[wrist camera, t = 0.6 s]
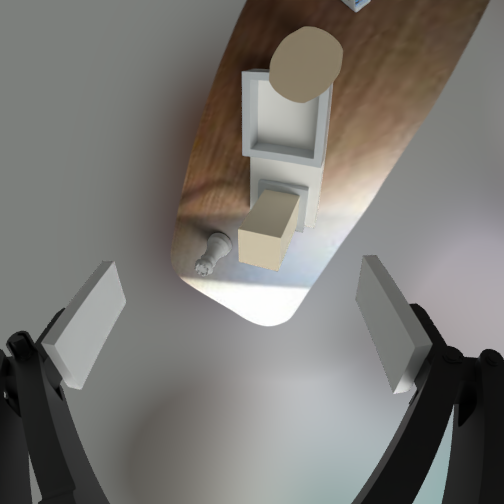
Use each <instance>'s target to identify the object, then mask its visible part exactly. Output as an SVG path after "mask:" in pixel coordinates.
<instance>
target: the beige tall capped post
mask: <svg viewBox="0 0 504 504" xmlns="http://www.w3.org/2000/svg"><path fill="white" fill-rule="evenodd" d="M342 57H343V49H342V47H341V45H340V43H339V42H338V41H337V40H336V39H335V38H334V37H333V36H332V35H330V34H329V33H327V32H325V31H323V30H321V29H319V28H316V27H302V28H300V29H299V30H297V31H295V32H293V33H292V34H290V35H288V36H287V37H286V38H285V39H284V40H283V41H282V42H281V43H280V45H279V46H278V48H277V50H276V51H275V53H274V54H273V57H272V59H271V63H270V71H269V82H270V84H271V86H272V87H273V89H274V90H275V91H276V92H277V93H278V94H280V95H281V96H283V97H284V98H286V99H288V100H290V101H293V102H297V103H306V102H308V101H310V100H312V99H314V98H315V97H317V96H319V95H321V94H322V93H324V92H325V91H326V90H327V89H328V88H329V87H330V85H331V84H332V83H333V81H334V80H335V78H336V77H337V76H338V74H339V72H340V69H341V64H342Z"/></svg>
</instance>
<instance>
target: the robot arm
mask: <svg viewBox="0 0 504 504" xmlns="http://www.w3.org/2000/svg"><path fill="white" fill-rule="evenodd" d="M356 302H357V304H358V306H359V308H360V311H361V313H362V315H363V318H364V320H365V323H366V325H367V327H368V330H369V332H370V335H371V337H372V340H373V342H374V344H375V346H376V349H377V352H378V355H379V357H380V360H381V362H382V365H383V367H384V370H385V373H386V375H387V378H388V381H389V383H390V386H391V389H392V392H393V394H395V393H401V392H405V391H409V390H410V388H411V387H412V385H413V383H414V382H415V385H416V387H417V390H416V392H415V394H414V395H413V397H412V399H411V401H410V402H409V404H410V405H409V407H408V409H407V411H406V413H405V415H404V417H403V419H402V421H401V423H400V425H399V428H398V429H397V431H396V433H395V435H394V437H393V439H392V440H391V442H390V444H389V446H388V448H387V449H386V451H385V453H384V455H383V456H382V458H381V460H380V461H379V463H378V465H377V466H376V468H375V469H374V471H373V473H372V474H371V476H370V477H369V479H368V481H367V482H366V483H365V485H364V486H363V488H362V489H361V491H360V492H359V494H358V495H357V497H356V498H355V499H354V501H353V502H352V503H351V504H412V503H413V501H414V499H415V498H416V496H417V494H418V492H419V490H420V488H421V486H422V484H423V482H424V480H425V478H426V475H427V473H428V471H429V469H430V467H431V465H432V462H433V460H434V458H435V455H436V453H437V450H438V448H439V445H440V443H441V440H442V438H443V435H444V432H445V430H446V427H447V424H448V421H449V418H450V415H451V412H452V409H453V405H454V418H453V432H452V443H451V452H450V460H449V467H448V473H447V480H446V485H445V490H444V495H443V500H442V504H504V359H503V357H502V356H501V355H500V353H498V352H497V351H495V350H492V349H485V350H483V351H482V353H481V354H480V356H479V357H478V358H473V357H464V356H463V354H462V353H461V352H460V351H459V350H458V349H456V348H455V347H451V346H447V344H446V343H445V341H444V339H443V338H442V336H441V334H440V333H439V331H438V330H437V328H436V326H435V325H434V323H433V322H432V320H431V319H430V317H429V315H428V314H427V312H426V311H425V310H424V309H423V308H422V307H420V306H419V305H418V304H408V302H407V301H406V299H405V297H404V296H403V294H402V293H401V291H400V290H399V288H398V287H397V285H396V283H395V282H394V280H393V279H392V277H391V276H390V275H389V273H388V271H387V270H386V269H385V267H384V266H383V264H382V263H381V261H380V260H379V258H378V257H377V256H376V255H368V256H367V255H366V256H363V259H362V265H361V271H360V277H359V282H358V288H357V293H356ZM125 304H126V300H125V297H124V294H123V290H122V287H121V284H120V280H119V277H118V273H117V270H116V266H115V262H114V261H102V263H101V264H100V265H99V266H98V268H97V269H96V270H95V271H94V272H93V274H92V275H91V276H90V277H89V279H88V280H87V281H86V282H85V284H84V285H83V286H82V288H81V289H80V290H79V291H78V293H77V294H76V295H75V296H74V298H73V299H72V300H71V302H70V303H69V305H68V306H67V307H66V308H63V309H62V310H60V311H59V312H58V313H56V315H55V316H54V318H53V319H52V320H51V322H50V323H49V324H48V326H47V328H45V330H44V331H43V333H42V334H41V335H40V337H39V338H38V340H37V341H36V343H35V344H34V342H33V340H32V338H31V337H30V335H29V333H28V332H26V331H19V332H16V333H15V334H13V335H12V336H11V337H10V338H9V339H8V341H7V343H6V346H7V348H8V349H9V351H10V353H11V355H12V356H11V357H6V355H5V353H4V352H3V350H1V349H0V504H32V496H31V487H30V475H29V457H28V456H29V455H30V459H31V463H32V466H33V469H34V473H35V476H36V479H37V482H38V486H39V489H40V492H41V495H42V500H41V501H40V502H38V504H110V503H109V502H108V500H107V498H106V496H105V494H104V492H103V490H102V488H101V486H100V485H99V482H98V480H97V478H96V477H95V474H94V472H93V470H92V467H91V465H90V463H89V461H88V458H87V456H86V454H85V451H84V449H83V446H82V444H81V441H80V439H79V437H78V434H77V431H76V428H75V425H74V423H73V420H72V417H71V414H70V411H69V408H68V405H67V401H66V398H65V395H64V391H63V389H62V387H61V385H60V382H61V380H62V379H63V380H64V381H65V383H66V384H67V386H68V387H71V388H76V389H80V390H81V389H82V387H83V385H84V383H85V380H86V378H87V376H88V374H89V372H90V370H91V368H92V366H93V364H94V362H95V360H96V358H97V356H98V354H99V352H100V350H101V348H102V346H103V344H104V342H105V340H106V338H107V337H108V335H109V333H110V331H111V329H112V327H113V325H114V323H115V322H116V320H117V318H118V316H119V314H120V312H121V311H122V309H123V307H124V305H125ZM4 392H5V393H6V398H4ZM28 451H29V454H28Z"/></svg>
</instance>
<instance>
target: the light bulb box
mask: <svg viewBox="0 0 504 504" xmlns="http://www.w3.org/2000/svg"><path fill="white" fill-rule="evenodd" d="M341 1H342V2H344V3H345V4H346V5H347V6H348V7H350V8H351V9H352V10H353V11H354V12H357V11H359V10H360V9H361V8H363V7H364V6H365V5H366V4H368V3H369V2H370V1H371V0H341Z"/></svg>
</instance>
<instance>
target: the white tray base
mask: <svg viewBox="0 0 504 504" xmlns="http://www.w3.org/2000/svg"><path fill="white" fill-rule="evenodd" d="M269 71H270V69H251V70H247V71H242V156H249V157H250V212H249V213H248V215H247V216H246V218H245V219H244V221H243V222H242V224H241V225H240V227H239V228H238V241H239V262H242V263H246V264H250V265H254V266H258V267H262V268H266V269H271V270H275V271H278V270H279V268H280V266H281V263H282V261H283V258H284V256H285V253H286V251H287V248H288V246H289V244H290V241H291V239H292V236H293V234H294V231H297V232H302V233H303V230H304V226H306V227H310V228H314V227H315V224H316V219H317V213H318V206H319V199H320V193H321V185H322V178H323V171H324V163H325V155H326V147H327V138H328V130H329V120H330V110H331V100H332V89H333V83H332V84H331V85H330V87H329V88H328V89H327V90H326V91H325V92H324V93H322V94H321V95H319V96H317V97H315V98H314V99H312V100H310V101H308V102H306V103H297V102H293V101H290V100H288V99H286V98H284V97H283V96H281V95H280V94H278V93H277V92H276V91H275V90H274V89H273V87H272V86H271V84H270V82H269Z"/></svg>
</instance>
